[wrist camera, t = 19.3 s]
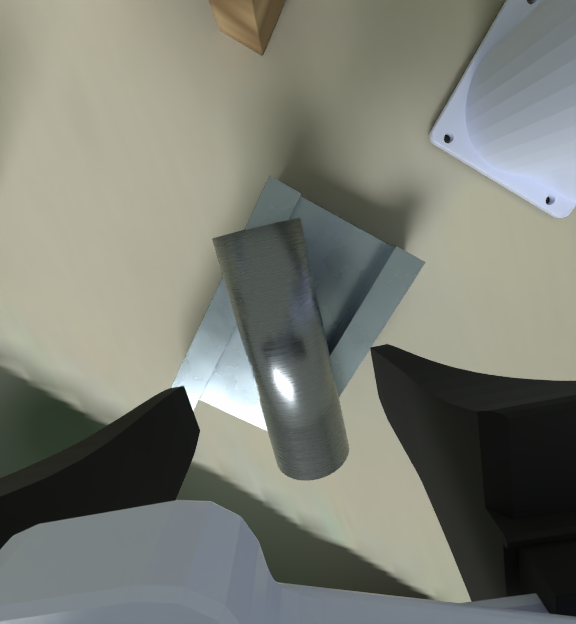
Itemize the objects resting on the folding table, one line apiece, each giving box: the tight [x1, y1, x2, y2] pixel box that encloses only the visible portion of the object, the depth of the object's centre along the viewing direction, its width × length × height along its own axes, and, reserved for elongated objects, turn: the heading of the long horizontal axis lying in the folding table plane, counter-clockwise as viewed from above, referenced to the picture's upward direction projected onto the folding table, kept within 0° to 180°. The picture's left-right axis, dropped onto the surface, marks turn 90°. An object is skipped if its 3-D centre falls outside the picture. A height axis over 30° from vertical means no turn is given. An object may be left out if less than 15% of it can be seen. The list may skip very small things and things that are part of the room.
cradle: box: [171, 176, 425, 431], centre depth 19 cm, size 9×14×4 cm, turn 153°
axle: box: [212, 218, 349, 480], centre depth 15 cm, size 4×12×4 cm, turn 13°
